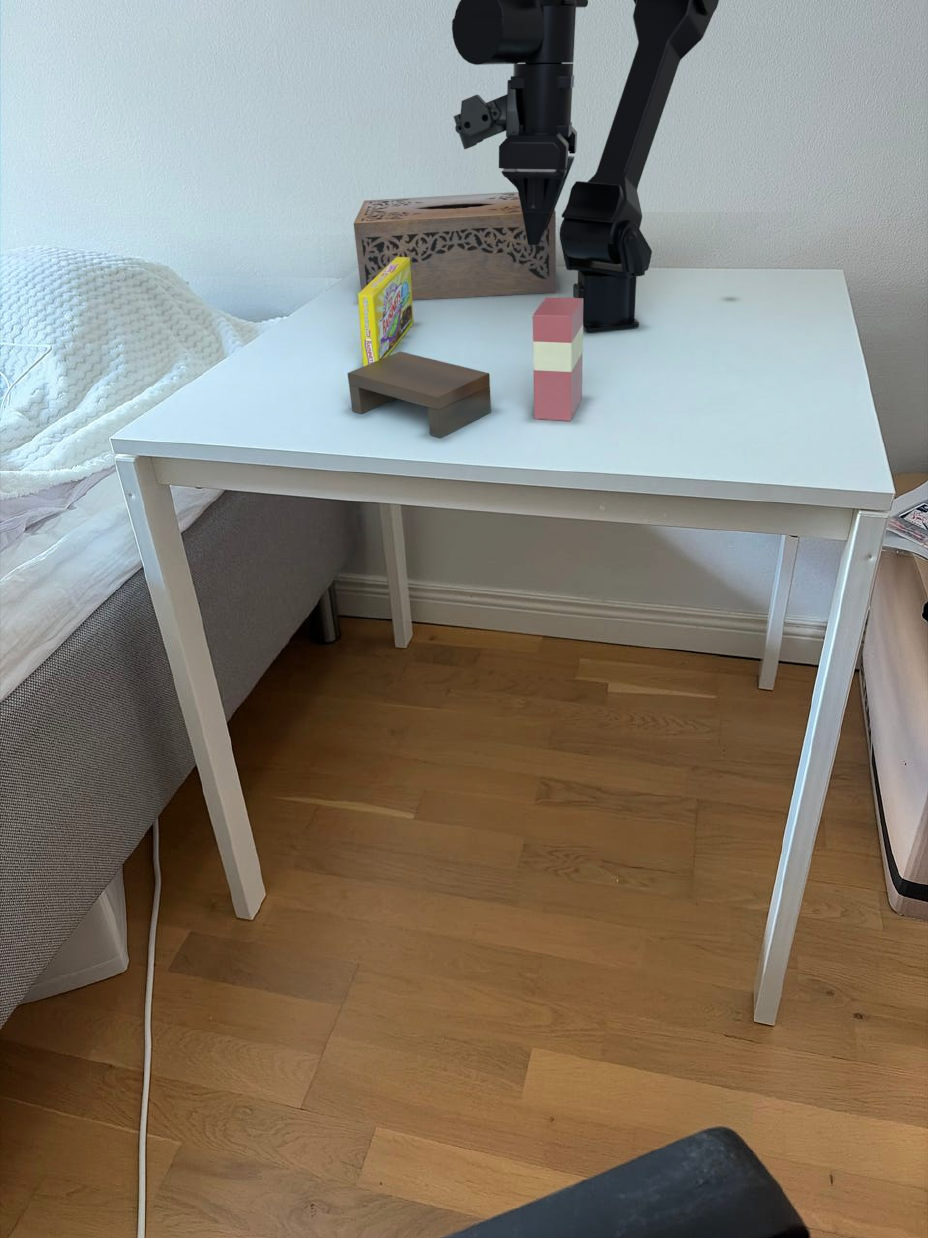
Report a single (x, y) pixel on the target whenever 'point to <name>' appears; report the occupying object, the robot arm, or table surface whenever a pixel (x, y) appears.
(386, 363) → the shelf
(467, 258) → the tissue box cover
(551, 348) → the packet
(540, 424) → the table surface
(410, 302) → the candy box
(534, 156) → the robot arm
